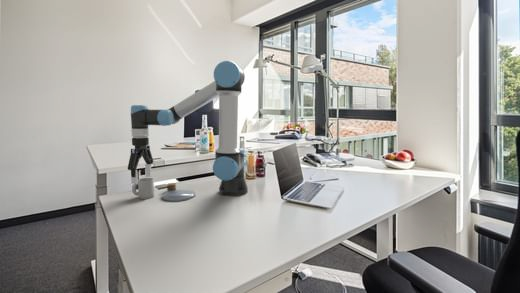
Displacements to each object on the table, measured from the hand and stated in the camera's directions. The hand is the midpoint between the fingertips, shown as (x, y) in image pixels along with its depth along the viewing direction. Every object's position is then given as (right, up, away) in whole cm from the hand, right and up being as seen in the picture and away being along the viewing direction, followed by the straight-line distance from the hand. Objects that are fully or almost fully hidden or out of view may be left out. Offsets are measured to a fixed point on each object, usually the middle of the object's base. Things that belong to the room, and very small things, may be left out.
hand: (141, 179), depth 140 cm
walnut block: (+11, -8, +11) cm, 18 cm away
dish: (+18, -9, +3) cm, 20 cm away
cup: (0, -9, +1) cm, 9 cm away
